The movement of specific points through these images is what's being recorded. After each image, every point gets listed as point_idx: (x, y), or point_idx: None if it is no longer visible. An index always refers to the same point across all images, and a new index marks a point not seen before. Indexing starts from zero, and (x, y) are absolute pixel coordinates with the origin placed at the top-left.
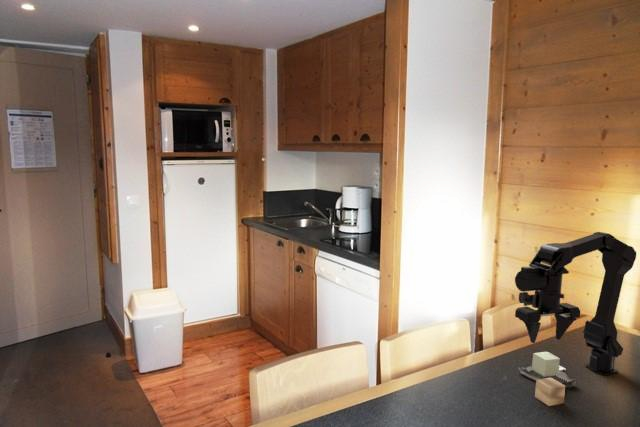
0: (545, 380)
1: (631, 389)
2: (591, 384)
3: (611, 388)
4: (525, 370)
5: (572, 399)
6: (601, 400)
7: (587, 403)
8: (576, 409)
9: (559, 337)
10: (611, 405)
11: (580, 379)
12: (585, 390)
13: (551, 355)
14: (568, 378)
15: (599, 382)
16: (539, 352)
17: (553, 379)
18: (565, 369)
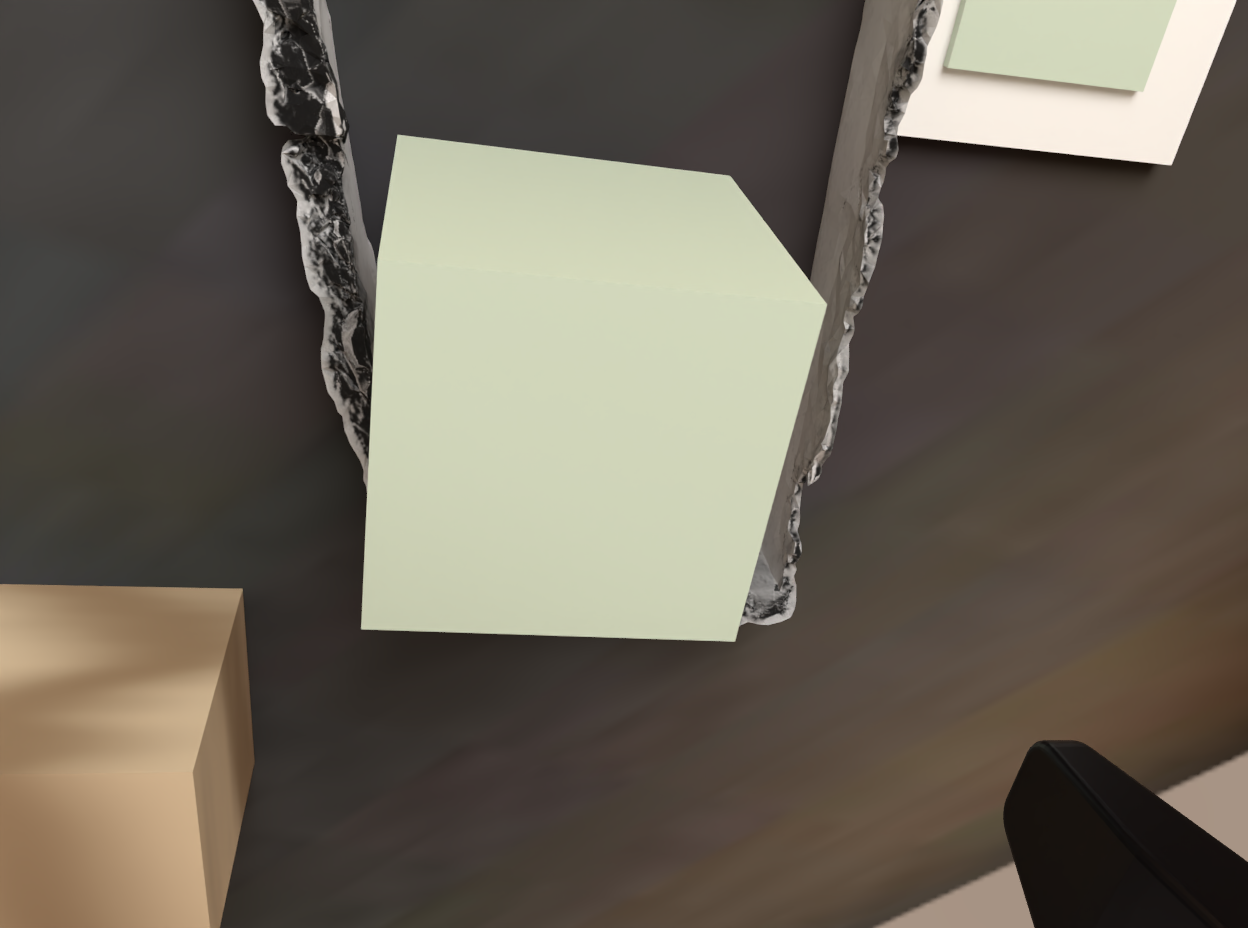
0: (19, 815)
1: (1222, 747)
2: (992, 570)
3: (1079, 687)
4: (302, 43)
5: (429, 734)
6: (712, 811)
7: (515, 817)
8: (290, 863)
9: (1034, 902)
10: (706, 882)
11: (1018, 442)
12: (774, 644)
13: (710, 497)
14: (797, 481)
15: (1129, 565)
16: (585, 285)
17: (184, 819)
18: (1158, 160)
